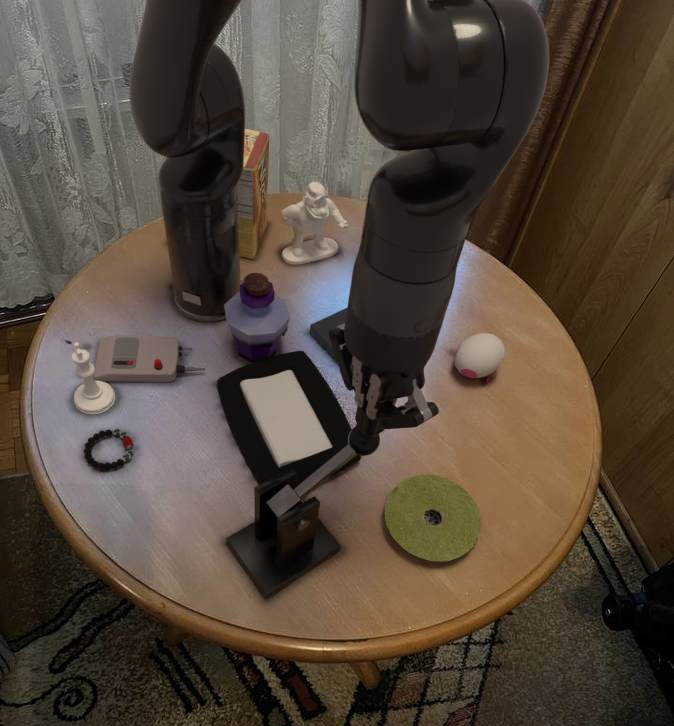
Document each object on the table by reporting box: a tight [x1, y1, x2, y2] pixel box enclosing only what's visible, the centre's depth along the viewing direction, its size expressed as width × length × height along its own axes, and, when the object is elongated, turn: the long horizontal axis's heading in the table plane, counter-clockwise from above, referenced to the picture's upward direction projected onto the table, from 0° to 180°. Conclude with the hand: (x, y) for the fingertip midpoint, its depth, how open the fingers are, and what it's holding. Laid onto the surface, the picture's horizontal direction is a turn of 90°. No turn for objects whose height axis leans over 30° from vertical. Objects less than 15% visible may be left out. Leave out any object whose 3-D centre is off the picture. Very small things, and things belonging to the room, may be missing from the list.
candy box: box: [237, 128, 270, 260], centre depth 95 cm, size 9×4×15 cm, turn 171°
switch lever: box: [266, 425, 381, 517], centre depth 65 cm, size 13×3×3 cm, turn 127°
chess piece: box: [71, 341, 116, 415], centre depth 77 cm, size 5×5×10 cm
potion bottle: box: [224, 272, 291, 363], centre depth 84 cm, size 9×9×12 cm
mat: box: [384, 473, 482, 562], centre depth 76 cm, size 11×11×2 cm
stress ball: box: [452, 331, 506, 383], centre depth 89 cm, size 8×8×7 cm
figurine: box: [280, 181, 349, 266], centre depth 96 cm, size 9×7×12 cm
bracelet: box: [83, 428, 135, 471], centre depth 77 cm, size 6×6×1 cm
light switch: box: [216, 350, 362, 487], centre depth 81 cm, size 20×3×14 cm
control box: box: [309, 307, 354, 375], centre depth 89 cm, size 12×9×4 cm
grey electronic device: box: [93, 334, 206, 383], centre depth 84 cm, size 7×16×3 cm, turn 94°
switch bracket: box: [225, 467, 342, 600], centre depth 68 cm, size 10×8×12 cm
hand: (368, 429), depth 64 cm, fingers closed
